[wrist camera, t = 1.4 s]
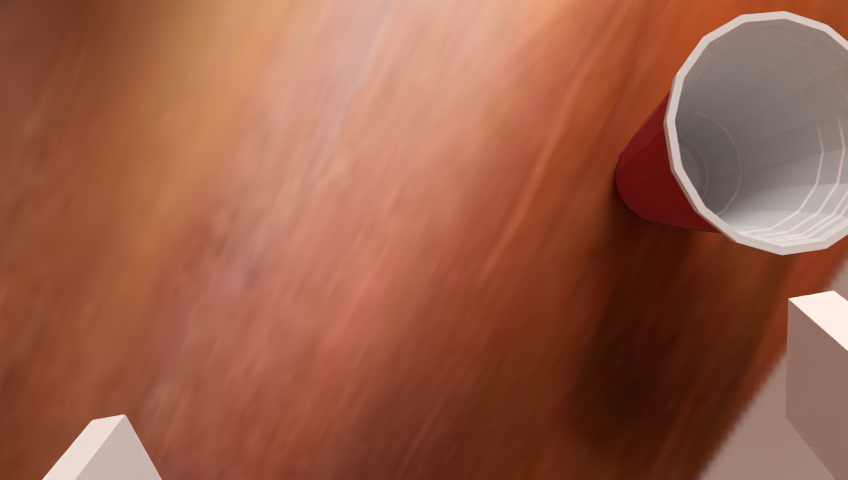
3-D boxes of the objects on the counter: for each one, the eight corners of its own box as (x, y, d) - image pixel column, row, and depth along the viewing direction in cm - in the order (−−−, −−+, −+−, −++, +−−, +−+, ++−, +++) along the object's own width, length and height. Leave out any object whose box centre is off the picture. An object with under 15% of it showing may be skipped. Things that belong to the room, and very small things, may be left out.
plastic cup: (742, 267, 36) (913, 262, 24) (575, 257, 35) (663, 247, 23) (744, 101, 36) (911, 15, 24) (581, 90, 36) (669, -3, 24)
